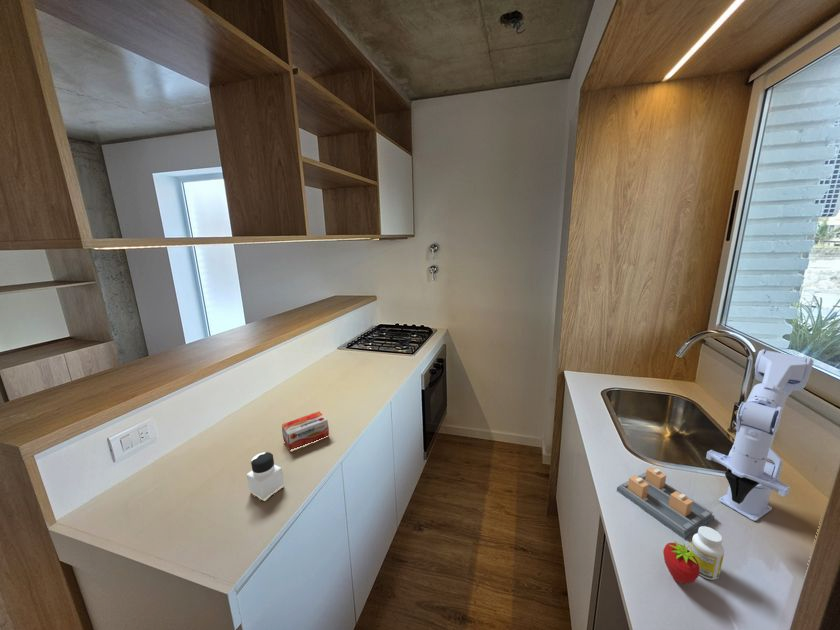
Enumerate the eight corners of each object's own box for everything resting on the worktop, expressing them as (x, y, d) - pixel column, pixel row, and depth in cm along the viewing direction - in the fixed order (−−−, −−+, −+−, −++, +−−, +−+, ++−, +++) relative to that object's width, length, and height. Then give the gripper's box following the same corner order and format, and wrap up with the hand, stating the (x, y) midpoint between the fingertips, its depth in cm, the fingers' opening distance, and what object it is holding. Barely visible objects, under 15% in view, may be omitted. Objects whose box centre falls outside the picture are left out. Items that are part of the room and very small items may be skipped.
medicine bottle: (284, 487, 103) (279, 453, 101) (264, 503, 98) (258, 467, 95) (270, 479, 107) (265, 446, 104) (249, 494, 101) (243, 459, 98)
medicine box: (290, 453, 120) (287, 434, 118) (283, 443, 126) (280, 424, 124) (329, 437, 128) (328, 419, 127) (321, 428, 135) (319, 410, 133)
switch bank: (644, 476, 104) (645, 470, 103) (713, 520, 88) (715, 513, 87) (616, 490, 98) (617, 484, 98) (684, 539, 83) (686, 532, 82)
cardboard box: (650, 478, 101) (652, 465, 100) (664, 486, 97) (666, 473, 96) (644, 480, 100) (647, 467, 99) (658, 489, 96) (661, 476, 95)
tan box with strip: (673, 503, 92) (676, 489, 90) (690, 513, 88) (693, 499, 87) (668, 506, 90) (670, 492, 89) (684, 517, 87) (687, 502, 86)
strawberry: (683, 566, 76) (690, 531, 74) (702, 601, 69) (711, 563, 67) (654, 561, 77) (660, 526, 75) (669, 595, 70) (677, 557, 68)
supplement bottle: (704, 556, 78) (711, 522, 76) (725, 580, 73) (734, 544, 71) (681, 558, 78) (688, 523, 76) (701, 581, 73) (709, 545, 70)
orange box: (633, 486, 98) (635, 473, 97) (647, 496, 94) (649, 482, 93) (627, 489, 97) (629, 476, 96) (641, 499, 93) (643, 485, 92)
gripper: (703, 439, 83) (693, 486, 86) (784, 476, 70) (769, 529, 73) (719, 432, 85) (709, 477, 89) (799, 466, 73) (784, 518, 76)
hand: (737, 500), depth 81 cm, fingers closed
